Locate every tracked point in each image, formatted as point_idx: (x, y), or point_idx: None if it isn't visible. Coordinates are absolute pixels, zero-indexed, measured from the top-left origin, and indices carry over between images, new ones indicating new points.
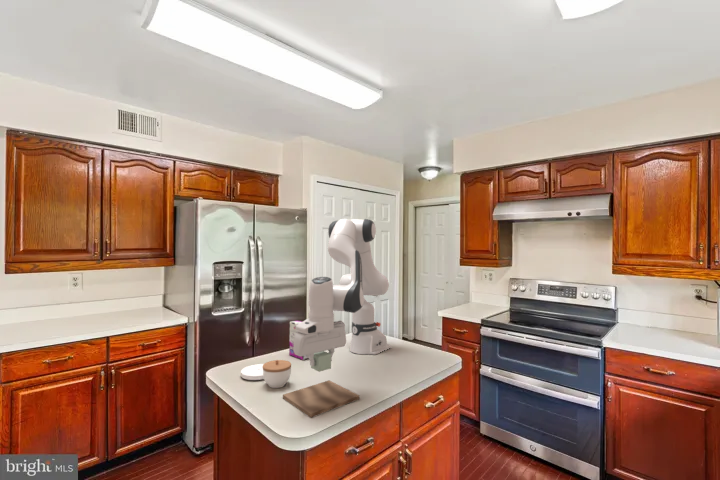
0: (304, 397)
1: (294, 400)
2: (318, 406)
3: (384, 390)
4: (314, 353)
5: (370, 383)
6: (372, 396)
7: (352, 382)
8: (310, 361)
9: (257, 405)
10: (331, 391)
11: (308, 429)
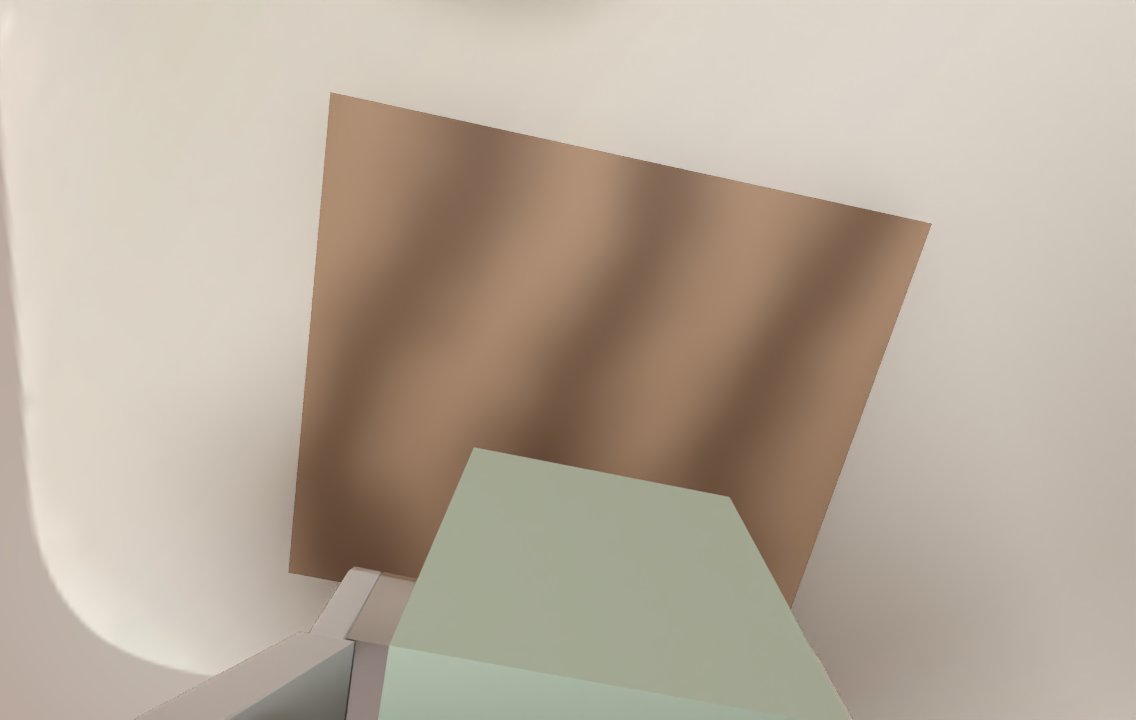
0: (443, 327)
1: (337, 299)
2: (410, 539)
3: (1013, 697)
4: (464, 717)
5: (1104, 542)
6: (860, 685)
7: (1050, 399)
8: (319, 627)
9: (75, 21)
10: (701, 437)
11: (198, 639)
